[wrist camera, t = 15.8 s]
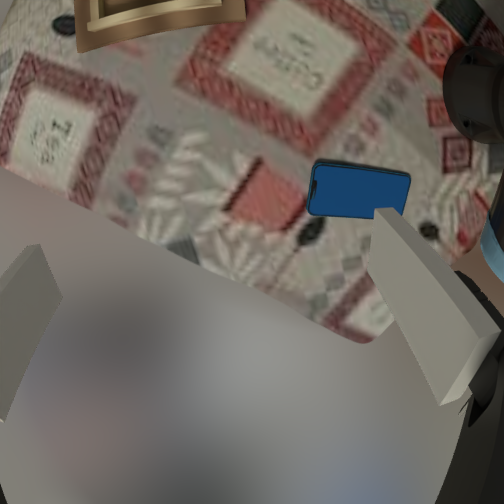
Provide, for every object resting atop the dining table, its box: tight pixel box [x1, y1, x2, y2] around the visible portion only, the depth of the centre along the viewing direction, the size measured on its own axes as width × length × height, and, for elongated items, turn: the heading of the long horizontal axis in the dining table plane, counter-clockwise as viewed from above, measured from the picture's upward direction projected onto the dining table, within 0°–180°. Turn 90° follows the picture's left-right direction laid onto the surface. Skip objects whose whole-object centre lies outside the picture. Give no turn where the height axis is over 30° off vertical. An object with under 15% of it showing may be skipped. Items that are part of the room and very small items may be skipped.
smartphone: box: [306, 162, 411, 219], centre depth 41 cm, size 7×1×15 cm
